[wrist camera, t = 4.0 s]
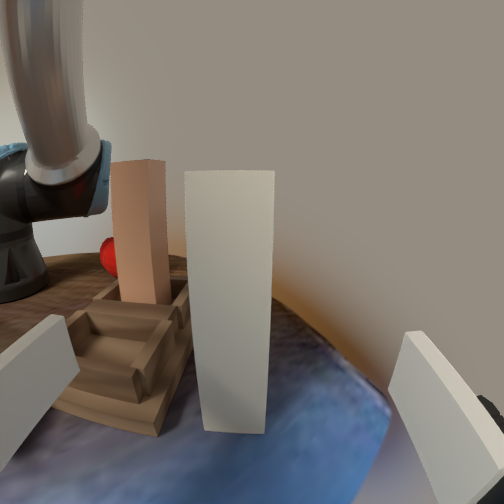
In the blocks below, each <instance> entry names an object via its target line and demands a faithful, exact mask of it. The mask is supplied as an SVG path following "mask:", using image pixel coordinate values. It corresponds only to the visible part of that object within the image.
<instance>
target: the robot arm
mask: <svg viewBox="0 0 504 504" xmlns="http://www.w3.org/2000/svg"><path fill="white" fill-rule="evenodd" d="M82 16H83V0H0V39H1V46H2V51H3V57H4V62H5V67H6V72H7V76H8V81H9V85H10V89H11V93H12V96H13V100H14V104H15V107H16V110H17V113H18V117H19V120H20V123H21V126H22V129H23V132H24V135H25V138H26V141H27V143H13V144H10V145H3V146H0V303H3V302H9V301H13V300H17V299H20V298H23V297H26V296H29V295H31V294H33V293H35V292H37V291H39V290H40V289H42V288H43V287H44V286H46V285H47V283H48V282H49V275H48V270H47V266H46V264H45V262H44V260H43V258H42V255H41V253H40V251H39V249H38V247H37V244H36V242H35V240H34V236H33V228H32V222H38V221H46V220H54V219H63V218H72V217H82V216H83V217H88V216H90V215H96V214H101V213H103V212H104V211H105V210H106V209H107V206H108V196H109V175H110V161H111V143H110V142H109V141H105V140H100V137H99V134H98V132H97V131H96V129H95V128H93V126H91V125H90V124H88V123H87V116H86V107H85V96H84V83H83V61H82V20H83V17H82ZM79 371H80V369H79V366H78V363H77V360H76V357H75V354H74V351H73V347H72V344H71V341H70V337H69V334H68V330H67V326H66V323H65V319H64V316H59V315H54V314H51V315H49V316H48V317H47V318H45V319H44V320H43V321H41V322H40V323H39V324H37V325H36V326H35V327H34V328H32V329H31V330H30V331H28V332H27V333H26V334H25V335H23V336H22V337H21V338H20V339H18V340H17V341H16V342H15V343H13V344H12V345H11V346H10V347H9V348H7V349H6V350H5V351H4V352H2V353H1V354H0V472H1V471H2V470H3V469H4V467H5V466H6V464H7V463H8V462H9V460H10V459H11V458H12V456H13V455H14V453H15V452H16V451H17V449H18V448H19V447H20V445H21V444H22V443H23V441H24V440H25V439H26V437H27V436H28V435H29V433H30V432H31V431H32V430H33V428H34V427H35V426H36V424H37V423H38V422H39V421H40V419H41V418H42V417H43V415H44V414H45V413H46V412H47V410H48V409H49V408H50V407H51V405H52V404H53V403H54V402H55V400H56V399H57V398H58V397H59V396H60V394H61V393H62V392H63V391H64V389H65V388H66V387H67V386H68V385H69V383H70V382H71V381H72V380H73V379H74V377H75V376H76V375H77V374H78V373H79ZM388 391H389V393H390V395H391V397H392V399H393V401H394V403H395V405H396V407H397V409H398V411H399V413H400V416H401V418H402V420H403V422H404V424H405V426H406V429H407V431H408V433H409V435H410V437H411V440H412V442H413V444H414V446H415V449H416V451H417V453H418V456H419V458H420V460H421V463H422V465H423V467H424V469H425V472H426V474H427V476H428V479H429V482H430V484H431V487H432V489H433V491H434V494H435V497H436V499H437V502H438V504H476V503H477V504H504V418H503V416H502V415H501V416H500V412H499V411H498V410H497V408H496V407H495V406H494V404H493V403H492V402H490V401H489V400H487V399H486V398H485V397H483V396H482V395H479V396H475V394H474V393H473V392H472V390H471V389H470V388H469V387H468V385H467V384H466V383H465V381H464V380H463V379H462V378H461V377H460V375H459V374H458V373H457V372H456V370H455V369H454V368H453V367H452V365H451V364H450V363H449V362H448V361H447V359H446V358H445V357H444V356H443V354H442V353H441V352H440V351H439V350H438V349H437V347H436V346H435V345H434V344H433V343H432V342H431V340H430V339H429V338H428V337H427V336H426V335H425V334H424V332H423V331H413V332H405V335H404V339H403V342H402V346H401V349H400V353H399V357H398V360H397V363H396V366H395V370H394V372H393V376H392V379H391V382H390V385H389V387H388Z"/></svg>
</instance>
